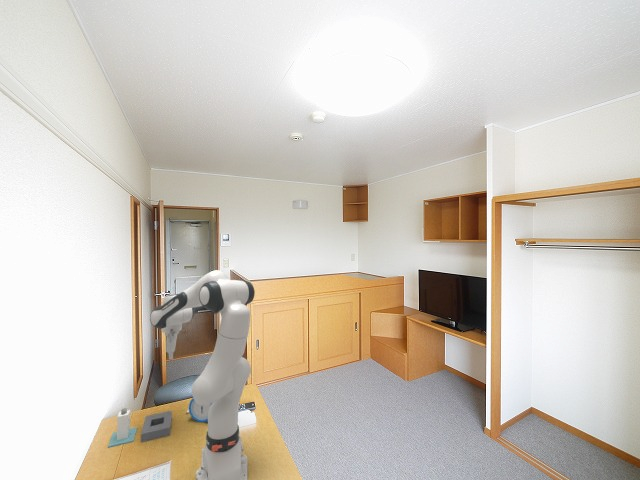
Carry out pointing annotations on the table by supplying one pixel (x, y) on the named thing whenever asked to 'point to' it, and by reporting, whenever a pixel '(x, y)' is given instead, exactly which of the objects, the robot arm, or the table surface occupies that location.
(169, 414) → the socket header
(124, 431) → the plug
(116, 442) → the mat
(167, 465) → the table surface
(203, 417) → the alarm clock
